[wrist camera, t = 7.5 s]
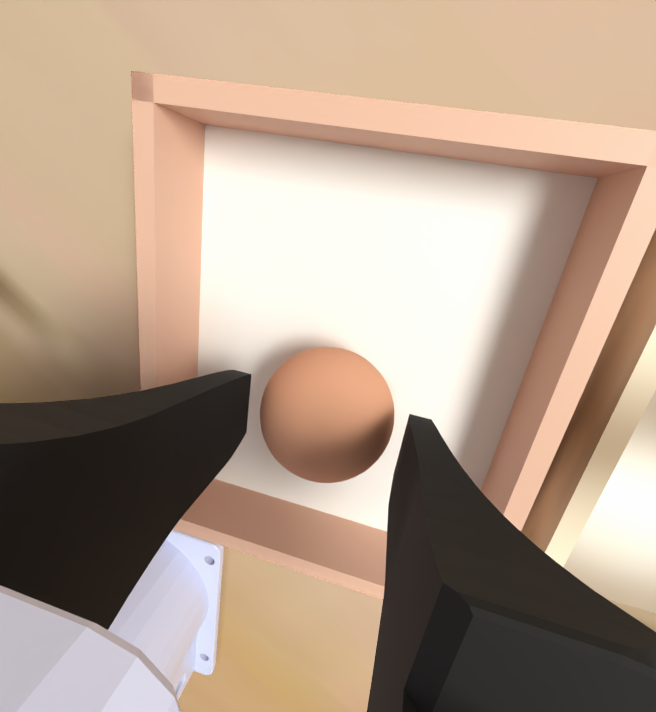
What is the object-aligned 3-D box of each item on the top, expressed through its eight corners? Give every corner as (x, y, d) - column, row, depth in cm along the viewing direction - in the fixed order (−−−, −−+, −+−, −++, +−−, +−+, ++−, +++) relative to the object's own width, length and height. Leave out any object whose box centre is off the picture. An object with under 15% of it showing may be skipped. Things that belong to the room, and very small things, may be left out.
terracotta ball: (385, 449, 14) (370, 532, 10) (280, 421, 14) (231, 489, 11) (411, 346, 12) (404, 399, 9) (293, 320, 13) (241, 359, 9)
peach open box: (468, 560, 15) (476, 631, 12) (187, 474, 17) (144, 519, 14) (626, 157, 10) (696, 135, 7) (195, 103, 12) (131, 71, 9)
